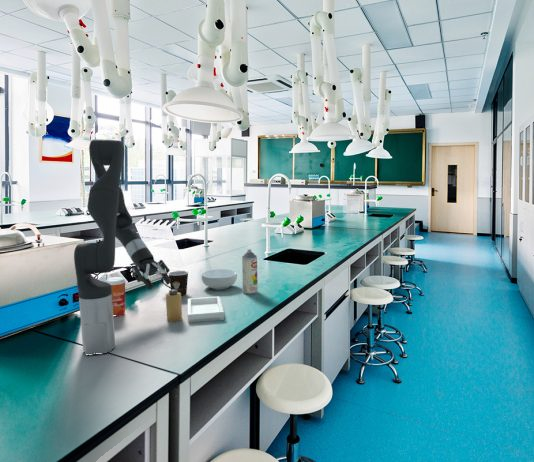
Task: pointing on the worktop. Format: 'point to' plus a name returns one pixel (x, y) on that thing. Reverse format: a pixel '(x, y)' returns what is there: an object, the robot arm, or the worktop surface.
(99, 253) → the robot arm
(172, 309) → the amber bottle
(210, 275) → the cereal bowl
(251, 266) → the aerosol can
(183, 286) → the coffee mug
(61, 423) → the worktop surface
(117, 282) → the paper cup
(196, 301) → the lab tray
